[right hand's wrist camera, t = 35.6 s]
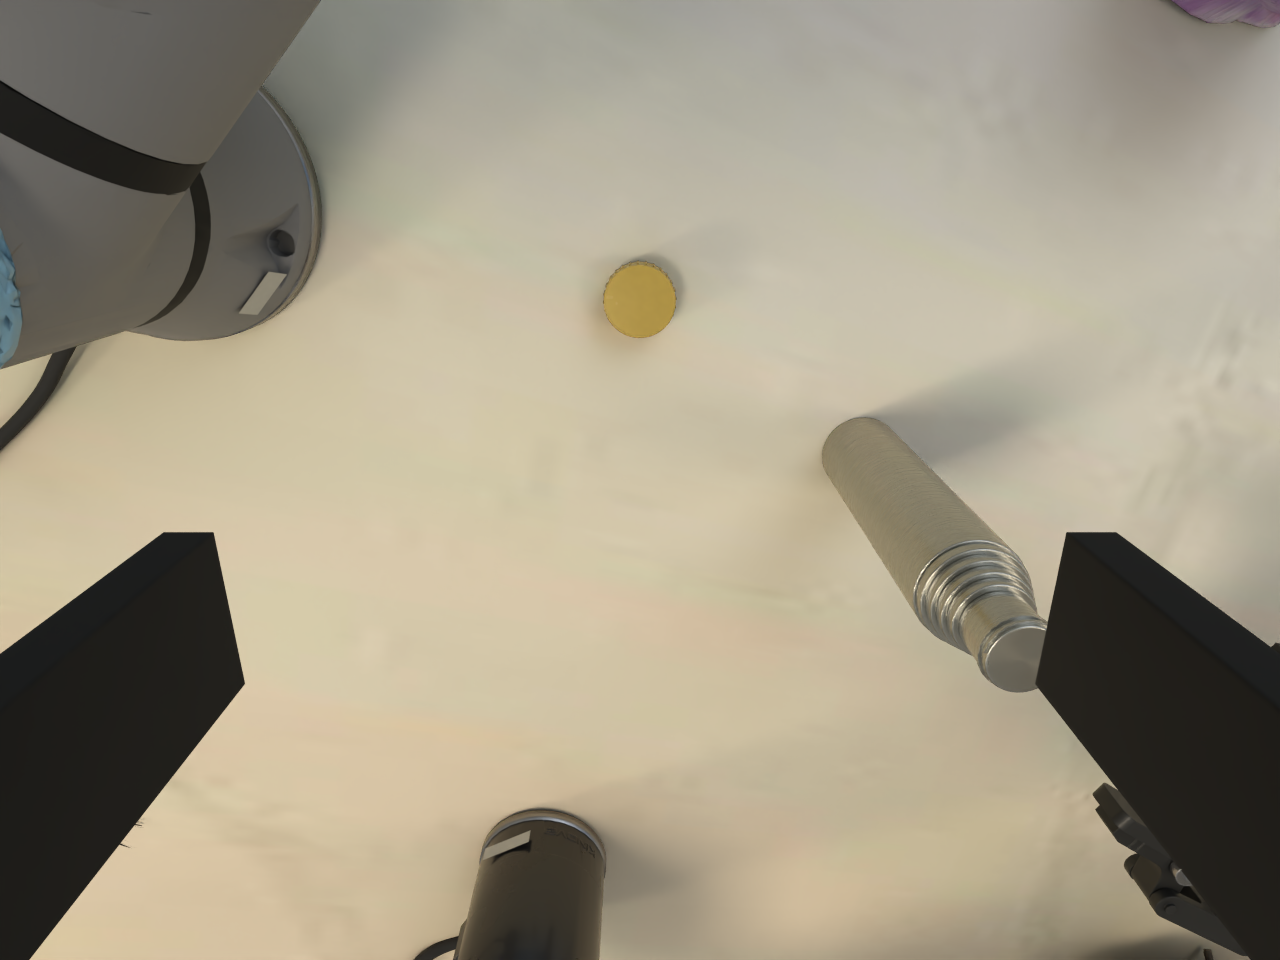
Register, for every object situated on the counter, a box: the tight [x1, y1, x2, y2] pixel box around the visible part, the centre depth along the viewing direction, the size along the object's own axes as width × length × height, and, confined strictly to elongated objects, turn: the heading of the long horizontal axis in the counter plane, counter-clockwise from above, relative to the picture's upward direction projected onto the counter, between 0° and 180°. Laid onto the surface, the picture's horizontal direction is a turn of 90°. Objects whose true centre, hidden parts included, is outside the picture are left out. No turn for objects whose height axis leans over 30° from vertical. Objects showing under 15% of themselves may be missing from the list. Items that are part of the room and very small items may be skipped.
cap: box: [603, 261, 676, 338], centre depth 45 cm, size 4×4×2 cm
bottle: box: [822, 418, 1048, 692], centre depth 39 cm, size 5×5×22 cm
